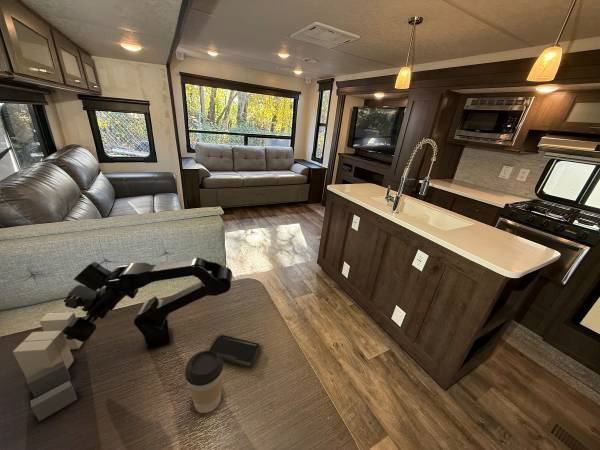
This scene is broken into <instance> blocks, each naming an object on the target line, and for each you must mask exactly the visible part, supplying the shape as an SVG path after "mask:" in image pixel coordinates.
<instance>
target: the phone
mask: <svg viewBox="0 0 600 450" xmlns="http://www.w3.org/2000/svg"><path fill="white" fill-rule="evenodd" d="M209 350H212V351H214V352H217V353H218V354H219V355H220V356H221V358H222V360H223V361H226V362H230V363H234V364H238V365H242V366H245V367H246V366H247V367H253V366H254V364H255V362H256V360H257V357H258V355H259V353H260V350H261V345H260V343H257V342H253V341H249V340H244V339H241V338H236V337H232V336H228V335H224V334H220V335H218V336H217V337H216V339H215V340H214V343H213V344H212V345H211V347H210V348H209Z"/></svg>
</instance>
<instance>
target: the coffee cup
mask: <svg viewBox="0 0 600 450" xmlns="http://www.w3.org/2000/svg"><path fill="white" fill-rule="evenodd" d="M184 377H185V380H186V384H187V387H188V390H189V393H190V397H191V400H192V402H193V406H194V409H195V410H196V411H197V412H198V413H200V414H208V413H211V412H212V411H214V410H216V408H218V406H219V404H220V402H221V399H222V389H223V377H224V360H222V358H221V356H220V355H219V354H218V353H217V352H214V351H212V350H210V349H209V350H202V351H200V352H197V353H195V354H193V356H191V357H190V358H189V360H188V361H187V363H186V365H185V369H184Z"/></svg>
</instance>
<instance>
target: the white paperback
mask: <svg viewBox="0 0 600 450" xmlns="http://www.w3.org/2000/svg"><path fill="white" fill-rule="evenodd" d="M75 317H77V316H76V314H75V312H74V311H72V312H70V311H69V312H50V313H46V314H45V315H44V316H43V317H42V318H41V319H40V320H39V324H40V326H41V328H42V332H45V331H62V330H63V329H64V328H65V327H66V326H67V325H68V324H69V323H70V322H71V321H72V319H74V318H75ZM64 336H65V339H66V337H67V335H65V334H64ZM66 341H67V344H68V346H69V349H70V350H78V349H80V348H81V346H82V345H83V344H84V342H81V341H79V340H76V339H72V340H68V339H66Z"/></svg>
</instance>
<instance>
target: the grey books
mask: <svg viewBox="0 0 600 450" xmlns="http://www.w3.org/2000/svg"><path fill="white" fill-rule="evenodd" d="M71 379H72V378H71V374H70V373H69V370H68V369H67V368H66V365H65V363H64V361H62V362H60V363H58V364H56V365H54V366H53V367H49V368H47V369H45V370H43V371H41V372H39V373H37V374H35V375H33V376H31V377H29V378H26V384H27V386H28V388H29V390H30V391H31V393H32V395H33V397H34V398H33V399H31V400H30V407H31V410H32V411H33V414H34V415H35V416H36V419H37V420H38V422H41V421H42V420H44V419H46V418H47V417H50V416H51V415H53V414H55V413H56V412H58V411H60V410H62V409H63V408H65V407H67V406H68V405H70V404H72V403H74V402H75V401H77V400H78V397H77V394H76V392H75V389H74V387H73V385H72V382H71Z"/></svg>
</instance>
